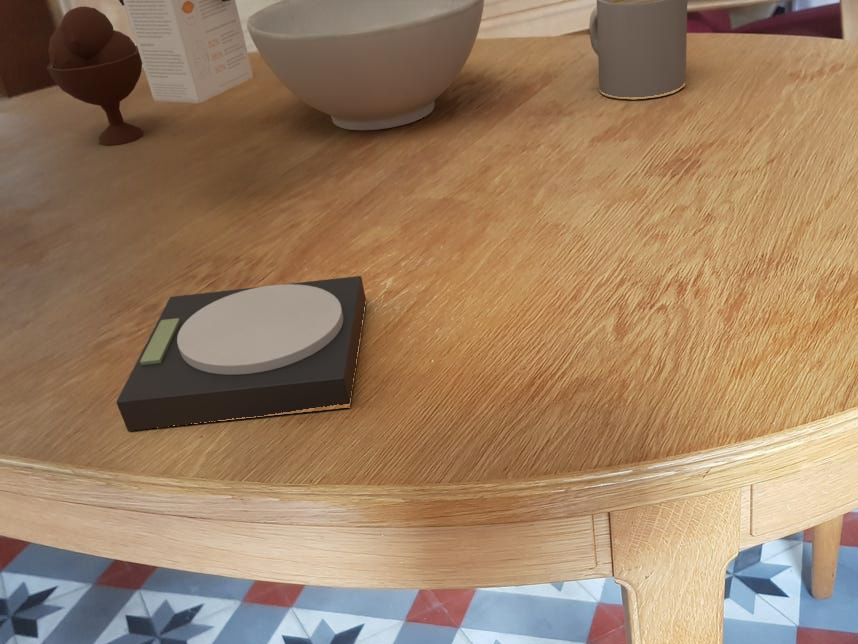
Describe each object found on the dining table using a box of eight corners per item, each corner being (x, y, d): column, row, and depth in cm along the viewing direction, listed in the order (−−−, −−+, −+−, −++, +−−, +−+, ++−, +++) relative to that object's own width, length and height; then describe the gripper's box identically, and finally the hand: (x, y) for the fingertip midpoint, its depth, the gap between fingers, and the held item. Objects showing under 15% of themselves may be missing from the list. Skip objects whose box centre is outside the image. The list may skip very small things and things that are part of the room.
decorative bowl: (264, 104, 122) (240, 2, 115) (465, 67, 126) (453, -34, 118) (282, 170, 101) (253, 50, 94) (522, 124, 105) (512, 4, 97)
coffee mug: (702, 87, 108) (705, -10, 102) (626, 106, 106) (625, 8, 100) (641, 64, 118) (641, -25, 112) (570, 81, 116) (566, -9, 110)
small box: (209, 77, 90) (176, -48, 84) (255, 78, 88) (225, -50, 81) (151, 103, 85) (111, -29, 78) (199, 105, 82) (162, -30, 76)
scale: (127, 432, 63) (111, 391, 61) (179, 323, 75) (166, 287, 73) (350, 408, 62) (341, 367, 60) (366, 303, 74) (359, 265, 72)
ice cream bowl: (183, 123, 119) (144, -8, 110) (124, 155, 111) (77, 17, 102) (119, 121, 123) (77, -5, 114) (57, 151, 115) (7, 18, 106)
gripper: (221, -242, 75) (269, -13, 85) (44, -220, 75) (113, 5, 85) (202, -242, 69) (256, 5, 79) (9, -218, 69) (87, 24, 79)
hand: (181, 4), depth 82 cm, fingers closed on small box, 7 cm apart
